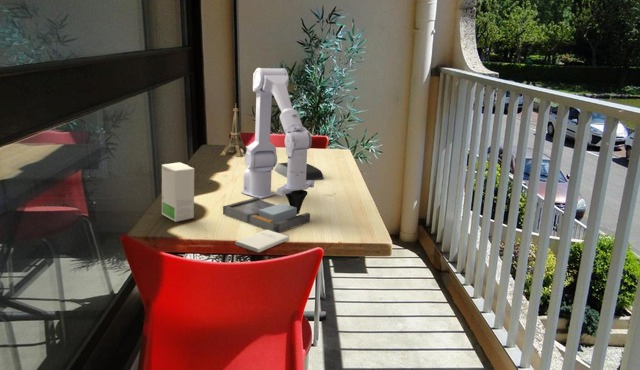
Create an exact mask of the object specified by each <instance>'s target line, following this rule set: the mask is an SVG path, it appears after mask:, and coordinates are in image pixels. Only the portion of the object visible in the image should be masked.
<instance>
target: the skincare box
mask: <svg viewBox="0 0 640 370" xmlns="http://www.w3.org/2000/svg"><path fill="white" fill-rule="evenodd" d="M194 209H195V168H194V167H191V166H189V165H188V164H185V163H182V162H181V161H180V162H173V163H164V164H161V214H162V216H164V217H166V218H168V219H169V220H171V221H174V222H175V223H177V222H181V221H187V220H190V219H191V220H192V219H194V218H195V217H194V216H195V210H194Z"/></svg>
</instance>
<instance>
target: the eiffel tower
mask: <svg viewBox="0 0 640 370" xmlns="http://www.w3.org/2000/svg"><path fill="white" fill-rule="evenodd" d="M232 109H233V110H232V111H233V120H232V128H231V132H230V139H229V141H228V142H227V145H226V146H225V147H224V149H223V150H222V152H221V153H220V154H219V156H227V155H229V153H235V152H236V155H235V157H236V158H242V157H244V154H245V155H246V151H247V146H246V145H245V144H244V141H243V139H242V136H241V134H242V132H241V131H240V124H239V123H240V122H239V114H238V112H239V111H240V110H239V108H237V104H235V108H232ZM240 148H241V149H240ZM241 150H242V151H241Z"/></svg>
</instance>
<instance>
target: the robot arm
mask: <svg viewBox="0 0 640 370" xmlns="http://www.w3.org/2000/svg"><path fill="white" fill-rule="evenodd" d="M289 79H290V78H289V73H288V71H287V69H286V68H284V67H282V68H277V67H276V68H269V67H268V68H267V67H266V68H261V67H257V68H256V69H255V71H254V72H253V76H252V91H253V93H256V97H255V99H256V100H255V127H254V129H255V130H254V131H255V132H254V133H255V135H254V141H253V142H251V143H250V144H249V145H247V146H246V148H247V151H246V154H245V155H244V156H245V157H244V163H245V166H246V169H245V170H244V173H243V186H242V187H243V191H241V194H244V195H246V196H249V197H252V198H256V197H259V198H260V200H262V199H264V198H268V197H272V196H275V195H277V196H281V197H284V196H285V197H286V199H287V201H288V203H289V204H288V205H290V206H293V207H296V208H297V215H300V212H301V209H302V206H303V202H304V201H305V198H306V197H308V191H307V190H309V188H314V187H315V180H314V181H311V180H307V181H306V168H307V164H308V163H307V162H308V161H307V160H308V150H310V148H311V147H312V135H311V132H310V131H309V130H307V128H306V127H304V126H303V122H302V121H301V118H300V114H299V112H298V111H297V109H294V108H293V105H292V102H291V97H290V94H289V90H288V86H289ZM273 97H274V99H275V101H276V104H277V106H278V108H279V110H280V115H279V120H280V123H281V126H282V129H283V131H284V135H285V137H284V147H285V153H286V156H287V163H288V167H287V177H286V183H285V184H284V185H282V186H280V187H278V188H277V190H276V191H277V192H275V191H272V171H274V169H275V168H276V166H277V164H278V156H277V148H276V146H275V145H274V144H273V143H272V142H271V126H272V124H271V122H272V121H271V119H272V99H273Z"/></svg>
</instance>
